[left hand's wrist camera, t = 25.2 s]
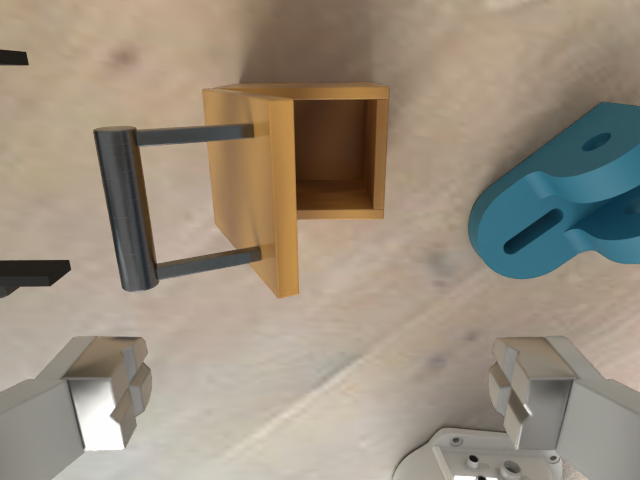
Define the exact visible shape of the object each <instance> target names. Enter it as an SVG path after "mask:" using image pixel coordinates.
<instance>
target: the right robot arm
mask: <svg viewBox="0 0 640 480" xmlns="http://www.w3.org/2000/svg"><path fill="white" fill-rule="evenodd" d="M0 65H29V64H28V59H27V54H26V52H21V51H10V50H0ZM70 270H71V267H70V262H69V260H8V261H0V298H3V297H5V296H8V295H9V294H11V293H12V292H14V291H15V290H16V289H18V288H19V287H25V286H51V285H53V284H54V283H55V282H56V281H58V280H59V279H60V278H61V277H63V276H64V275H65V274H66V273H68V272H69V271H70Z"/></svg>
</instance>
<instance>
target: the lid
mask: <svg viewBox="0 0 640 480" xmlns="http://www.w3.org/2000/svg"><path fill="white" fill-rule="evenodd" d="M202 95H203V105H204V115H205V126H192V127H175V128H159V129H142V130H137V129H136V127H131V126H114V127H103V128H97V129H94V130H93V133H94V139H95V144H96V150H97V155H98V160H99V166H100V171H101V177H102V182H103V187H104V193H105V198H106V204H107V209H108V214H109V220H110V225H111V231H112V236H113V242H114V247H115V252H116V258H117V263H118V269H119V274H120V279H121V285H122V288H123V289H124V290H125V291H129V292H140V291H145V290H148V289H151V288H153V287H155V286H156V285H158V283H159V280H163V279H168V278H173V277H179V276H184V275H189V274H194V273H199V272H205V271H210V270H215V269H220V268H225V267H231V266H236V265H241V264H246V263H248V264H249V265H250V266H251V267H252V268H253V269H254V271H255V272H256V273H257V274H258V275H259V277H260V278H261V279H262V280H263V281H264V282H265V284H266V285H267V286H268V287H269V288H270V290H271V291H272V292H273V293H274V294H275V295H276V297H277V298H279V299H280V298H284V297H288V296H293V295H297V294H299V277H298V242H297V207H296V171H295V136H294V101H293V99H291V98H284V97H277V96H269V95H262V94H255V93H248V92H240V91H233V90H226V89H218V88H217V89H202ZM197 142H207V146H208V156H209V167H210V177H211V187H212V198H213V208H214V218H215V225H216V226H217V227H218V228H219V229H220V230H221V232H222V233H223V234H224V235H225V236H226V238H227V239H228V240H229V241H230V242H231V243H232V245H233V246H234V247H235V248H236V249H237V250H232V251H226V252H221V253H215V254H209V255H204V256H198V257H192V258H187V259H181V260H175V261H170V262H164V263H159V264H157V262H156V255H155V248H154V242H153V235H152V228H151V222H150V215H149V209H148V202H147V195H146V189H145V182H144V175H143V169H142V162H141V156H140V149H139V147H143V146H157V145H170V144H183V143H197Z"/></svg>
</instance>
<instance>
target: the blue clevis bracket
mask: <svg viewBox="0 0 640 480" xmlns="http://www.w3.org/2000/svg"><path fill="white" fill-rule="evenodd" d="M468 232H469V238H470V241H471V244H472V246H473V248H474V250H475V251H476V252H477V254H478V255H479V256H480V257H481V258H482V260H483V261H484V262H485V263H486V264H487V265H488V266H489V267H490V268H491V269H492V270H494V271H495V272H497V273H498V274H501V275H503V276H506V277H509V278H515V279H529V278H535V277H539V276H542V275H545V274H547V273H549V272H551V271H553V270H555V269H556V268H558V267H559V266H561V265H562V264H564V263H565V262H567V261H568V260H570V259H571V258H573V257H574V256H576V255H577V254H579V253H581V252H584V251H589V250H593V251H597V252H598V253H600V254H601V255H603V256H604V257H606V258H607V259H609V260H611V261H614V262H617V263H623V264H640V106H633V105H625V104H617V103H608V102H602V103H600V104H599V105H598V106H596V107H595V108H594V109H592V110H591V111H590V112H588V113H587V114H586V115H584V116H583V117H582V118H580V119H579V120H578V121H576V122H575V123H574V124H572V125H571V126H570V127H568V128H567V129H566V130H564V131H563V132H562V133H560V134H559V135H558V136H556V137H555V138H554V139H552V140H551V141H550V142H548V143H547V144H546V145H544V146H543V147H542V148H540V149H539V150H538V151H536V152H535V153H534V154H532V155H531V156H530V157H528V158H527V159H526V160H524V161H523V162H522V163H520V164H519V165H518V166H516V167H515V168H514V169H512V170H511V171H510V172H508V173H507V174H506V175H504V176H503V177H502V178H500V179H499V180H498V181H496V182H495V183H494V184H492V185H491V186H490V187H488V188H487V189H486V190H485V191H484V192H483V193H482V194H481V196H480V197H479V198H478V200H477V201H476V203H475V205H474V207H473V209H472V211H471V214H470V218H469V224H468Z"/></svg>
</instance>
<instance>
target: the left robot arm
mask: <svg viewBox="0 0 640 480" xmlns="http://www.w3.org/2000/svg"><path fill="white" fill-rule="evenodd" d="M147 354H148V351H147V346H146V341H145V340H144V339H143V338H142V337H108V336H100V337H98V336H78V337H74V338H72V339H71V340H70V342H69V343H68V344H67V345H66V346H65V347H64V348H63V349H62V350H61V351H60V352H59V353H58V354H57V356H56V357H55V358H54V359H53V360H52V361H51V362H50V363H49V364H48V365H47V366H46V367H45V368H44V370H43V371H42V372H41V373H40V374H39V375H38V376H37V377H36V378H35V379H27V380H25V381H23V382H21V383H19V384H17V385H15V386H12V387H10V388H8V389H6V390H4V391H2V392H0V480H51V479H52V478H54V477H55V476H56V475H57V474H59V473H60V472H61V471H62V470H63V469H65V468H66V467H67V466H68V465H70V464H71V463H72V462H73V461H75V460H76V459H77V458H78V457H79V456H81V455H82V454H83V453H84V450H118V449H125V448H126V446H127V444H128V442H129V440H130V438H131V436H132V434H133V432H134V430H135V428H136V426H137V424H136V418H135V417H136V416H138V415H139V414H141V413H142V412H144V411H145V409H146V407H147V405H148V402H149V399H150V395H151V390H152V376H151V369H150V368H149V367H148V366H147V365H146V364H145V363H144V362H143V361H144V359H145V357H146V356H147ZM492 354H493V356H494V357H495V359H496V361H497V362H496V363H495V364H494V365H493V366H492V367H491V368H490V369H489V377H488V388H489V396H490V399H491V402H492V405H493V407H494V409H495V411H496V412H498V413H499V414H501V415H502V416H504V417H505V419H504V424H503V426H504V428H505V430H506V432H507V433H502V432H491V431H480V430H469V429H459V428H442V429H440V430H439V431H438V432H436V433H435V435H434V436H433V437H432V438H431V439H430V441H429V442H428V443H427V444H425V445H424V446H422V447H421V448H419V449H417V450H415V451H414V452H412V453H411V454H409V455H408V456H407V457H406V458H405V459H404V460H403V461H402V462H401V463H400V464H399V466H398V467H397V469H396V471H395V473H394V476H393V480H562V476H563V464H562V458H563V459H564V460H566V461H567V462H568V463H569V464H571V465H572V466H573V467H574V468H575V469H577V470H578V471H579V472H580V473H582V474H583V475H584V476H585V477H586V478H588V479H589V480H640V392H638V391H636V390H634V389H632V388H630V387H628V386H625V385H623V384H621V383H619V382H617V381H615V380H613V379H605V378H604V377H603V376H602V375H601V374H600V373H599V372H598V371H597V370H596V368H595V367H594V366H593V365H592V364H591V363H590V362H589V361H588V360H587V359H586V358H585V357H584V356H583V354H582V353H581V352H580V351H579V350H578V349H577V348H576V347H575V346H574V345H573V344H572V343H571V341H570V340H569V339H568V338H566V337H563V336H545V337H514V338H496V340H495V342H494V345H493V351H492ZM454 438H455V439H454ZM561 457H562V458H561Z"/></svg>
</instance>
